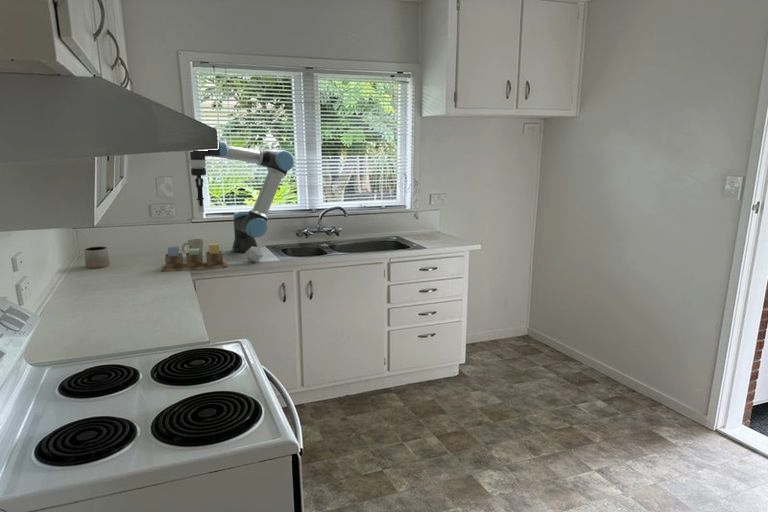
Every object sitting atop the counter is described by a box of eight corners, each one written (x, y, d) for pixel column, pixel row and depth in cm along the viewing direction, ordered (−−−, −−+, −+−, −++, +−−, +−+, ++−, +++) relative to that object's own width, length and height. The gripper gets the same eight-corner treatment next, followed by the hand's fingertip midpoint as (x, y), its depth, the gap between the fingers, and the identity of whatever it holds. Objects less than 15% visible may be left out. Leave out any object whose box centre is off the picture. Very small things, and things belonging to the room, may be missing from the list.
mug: (201, 259, 286) (200, 241, 284) (179, 258, 286) (177, 241, 284) (206, 256, 294) (205, 239, 292) (184, 255, 294) (183, 238, 292)
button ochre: (219, 255, 275) (218, 243, 274) (219, 257, 271) (218, 244, 269) (209, 256, 273) (208, 243, 272) (209, 258, 269) (208, 245, 267)
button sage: (199, 261, 272) (198, 248, 271) (200, 263, 268) (199, 250, 266) (189, 261, 270) (188, 248, 269) (189, 263, 266) (188, 250, 264)
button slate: (179, 258, 268) (178, 245, 267) (179, 260, 264) (178, 247, 262) (169, 258, 267) (168, 245, 265) (168, 261, 262) (167, 247, 260)
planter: (81, 267, 266) (79, 249, 263) (101, 262, 275) (99, 245, 273) (94, 269, 261) (92, 251, 258) (114, 265, 270) (112, 247, 268)
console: (225, 261, 281) (225, 249, 279) (227, 267, 269) (226, 254, 268) (163, 265, 270) (161, 253, 268) (161, 271, 258) (160, 258, 257)
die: (266, 261, 285) (261, 246, 288) (261, 257, 276) (256, 241, 279) (252, 267, 285) (247, 251, 288) (246, 263, 276) (241, 246, 279)
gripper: (190, 167, 276) (193, 210, 281) (190, 168, 264) (194, 213, 269) (205, 167, 278) (208, 210, 283) (206, 168, 266) (209, 213, 271)
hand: (201, 211), depth 276 cm, fingers closed
